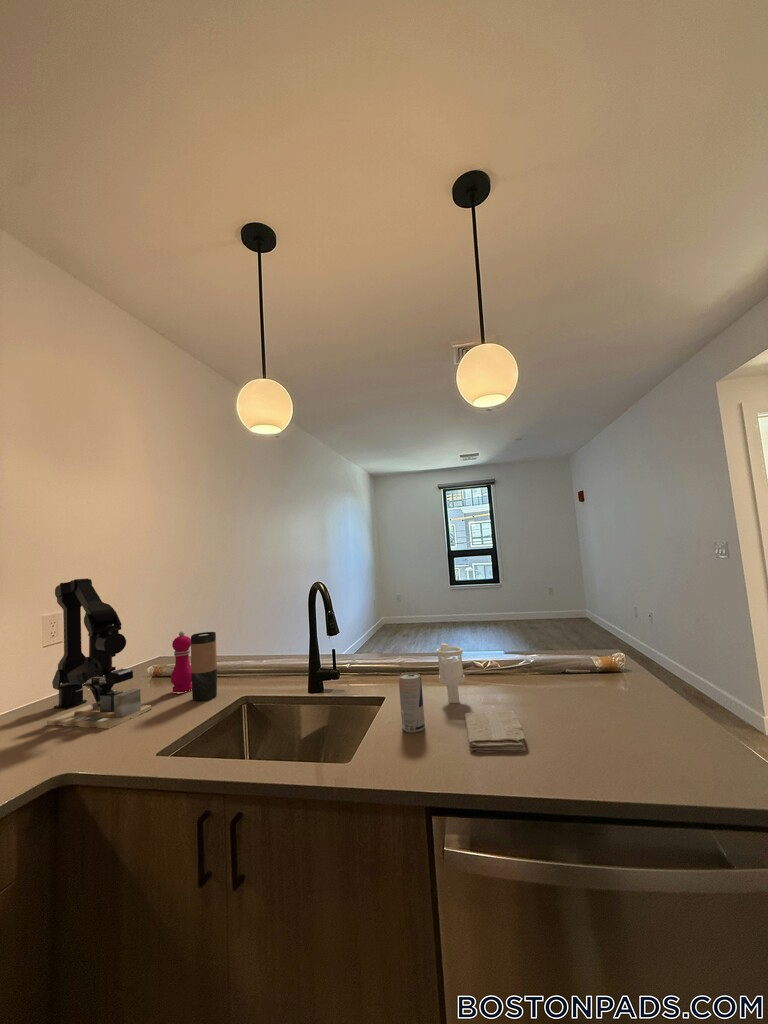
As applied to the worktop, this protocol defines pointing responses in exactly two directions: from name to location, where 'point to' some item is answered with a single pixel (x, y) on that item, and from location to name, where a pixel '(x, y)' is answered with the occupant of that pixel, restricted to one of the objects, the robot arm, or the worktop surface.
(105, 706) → the gauge slider
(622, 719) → the worktop surface
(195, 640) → the travel mug
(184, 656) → the pepper mill
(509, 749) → the washcloth
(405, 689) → the energy drink
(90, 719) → the gauge board
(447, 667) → the white stepped column
